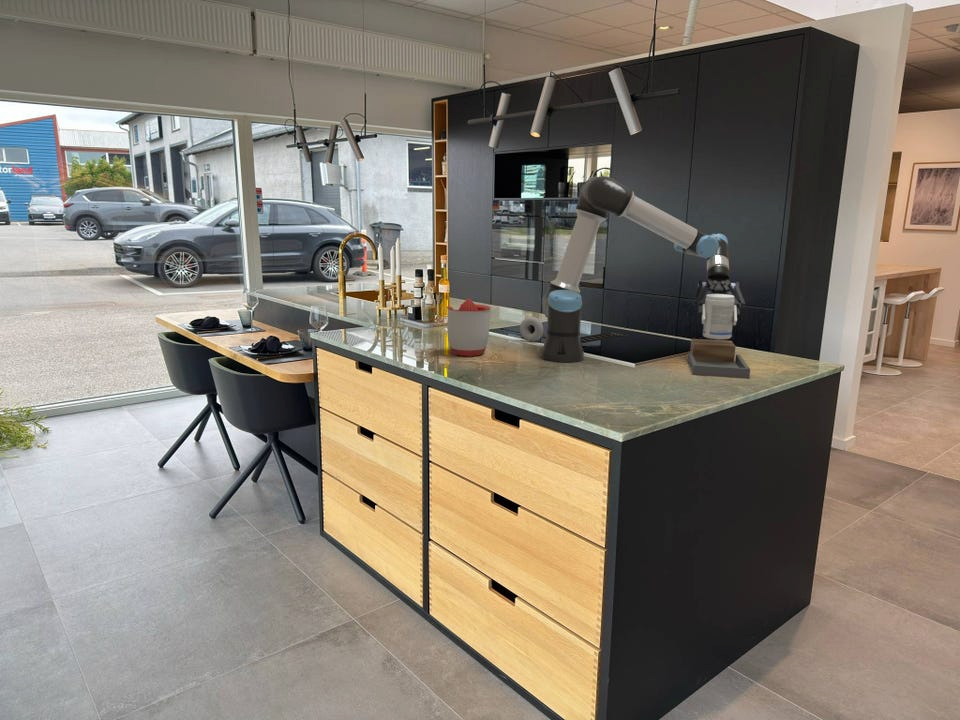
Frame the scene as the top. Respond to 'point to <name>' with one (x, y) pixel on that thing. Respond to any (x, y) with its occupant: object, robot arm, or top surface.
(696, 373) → the grey shallow rectangular tray
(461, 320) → the citrus juicer
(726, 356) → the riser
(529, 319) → the donut
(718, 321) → the supplement tub
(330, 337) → the top surface
